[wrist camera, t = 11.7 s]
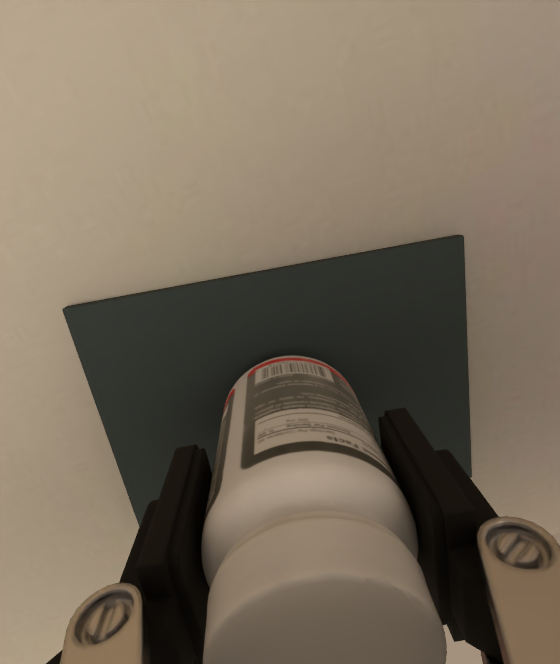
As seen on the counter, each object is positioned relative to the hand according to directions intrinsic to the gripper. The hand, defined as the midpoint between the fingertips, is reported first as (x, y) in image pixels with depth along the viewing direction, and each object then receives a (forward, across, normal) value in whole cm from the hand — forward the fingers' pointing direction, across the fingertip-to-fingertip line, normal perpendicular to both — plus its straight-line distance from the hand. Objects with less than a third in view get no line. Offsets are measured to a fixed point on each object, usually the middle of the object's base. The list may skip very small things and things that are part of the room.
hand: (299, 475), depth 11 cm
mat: (+5, 0, 0) cm, 5 cm away
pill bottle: (+4, 0, 0) cm, 4 cm away
